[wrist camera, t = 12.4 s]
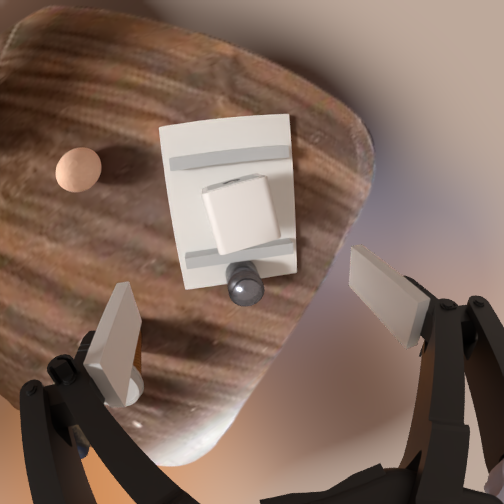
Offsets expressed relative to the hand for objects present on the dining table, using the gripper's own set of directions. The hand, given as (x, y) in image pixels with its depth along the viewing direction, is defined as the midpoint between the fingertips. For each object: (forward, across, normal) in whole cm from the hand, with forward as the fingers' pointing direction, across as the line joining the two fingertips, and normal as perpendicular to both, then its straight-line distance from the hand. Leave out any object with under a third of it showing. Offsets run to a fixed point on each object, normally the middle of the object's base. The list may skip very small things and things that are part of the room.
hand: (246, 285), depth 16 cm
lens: (+22, +2, -10) cm, 24 cm away
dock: (+22, +2, -1) cm, 23 cm away
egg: (+23, -16, +7) cm, 29 cm away
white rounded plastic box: (+22, +2, -1) cm, 22 cm away
